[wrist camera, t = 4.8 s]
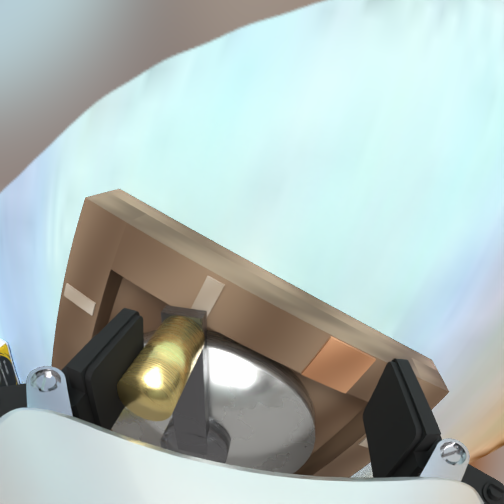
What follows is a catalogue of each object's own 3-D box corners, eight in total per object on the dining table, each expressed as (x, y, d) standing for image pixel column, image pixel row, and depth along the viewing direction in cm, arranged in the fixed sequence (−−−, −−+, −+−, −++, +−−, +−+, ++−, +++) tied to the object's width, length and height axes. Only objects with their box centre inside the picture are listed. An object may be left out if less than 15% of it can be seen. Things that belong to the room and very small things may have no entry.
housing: (431, 359, 16) (450, 393, 13) (266, 501, 23) (262, 528, 20) (119, 188, 16) (83, 198, 13) (66, 404, 22) (48, 426, 19)
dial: (296, 481, 20) (290, 556, 13) (128, 450, 21) (95, 512, 14) (344, 300, 15) (374, 406, 8) (85, 269, 16) (-3, 328, 9)
